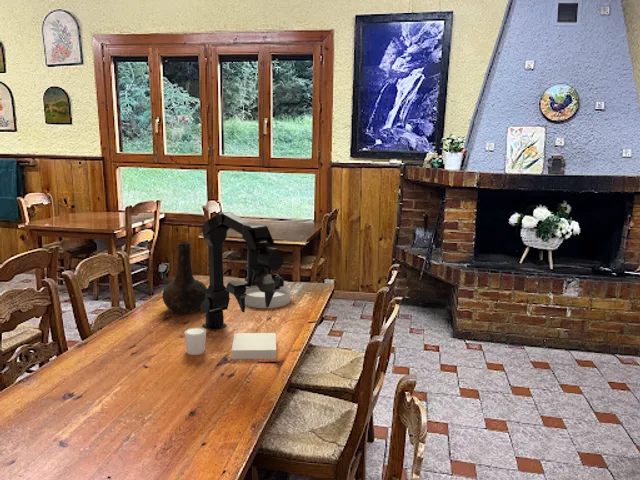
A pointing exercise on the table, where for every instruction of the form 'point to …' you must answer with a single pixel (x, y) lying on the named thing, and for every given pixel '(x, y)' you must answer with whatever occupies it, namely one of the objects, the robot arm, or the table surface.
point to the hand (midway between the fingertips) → (255, 309)
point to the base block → (254, 346)
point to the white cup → (195, 340)
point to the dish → (258, 298)
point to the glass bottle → (184, 285)
